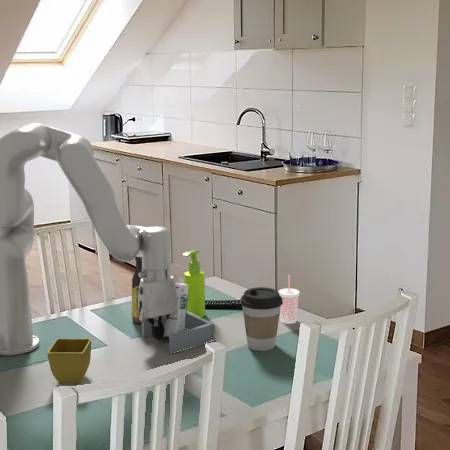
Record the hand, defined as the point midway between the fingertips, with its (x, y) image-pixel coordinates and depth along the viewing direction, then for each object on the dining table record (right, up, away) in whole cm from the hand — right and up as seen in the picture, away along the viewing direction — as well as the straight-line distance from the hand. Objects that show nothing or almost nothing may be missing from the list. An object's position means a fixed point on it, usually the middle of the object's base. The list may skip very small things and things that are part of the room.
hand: (158, 337), depth 197 cm
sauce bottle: (-6, +2, +17) cm, 18 cm away
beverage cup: (+37, +2, +15) cm, 40 cm away
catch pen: (+5, -1, +3) cm, 6 cm away
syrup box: (+3, 0, +3) cm, 5 cm away
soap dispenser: (+9, +3, +20) cm, 23 cm away
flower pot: (-19, -7, -21) cm, 29 cm away
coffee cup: (+28, -2, -2) cm, 28 cm away
